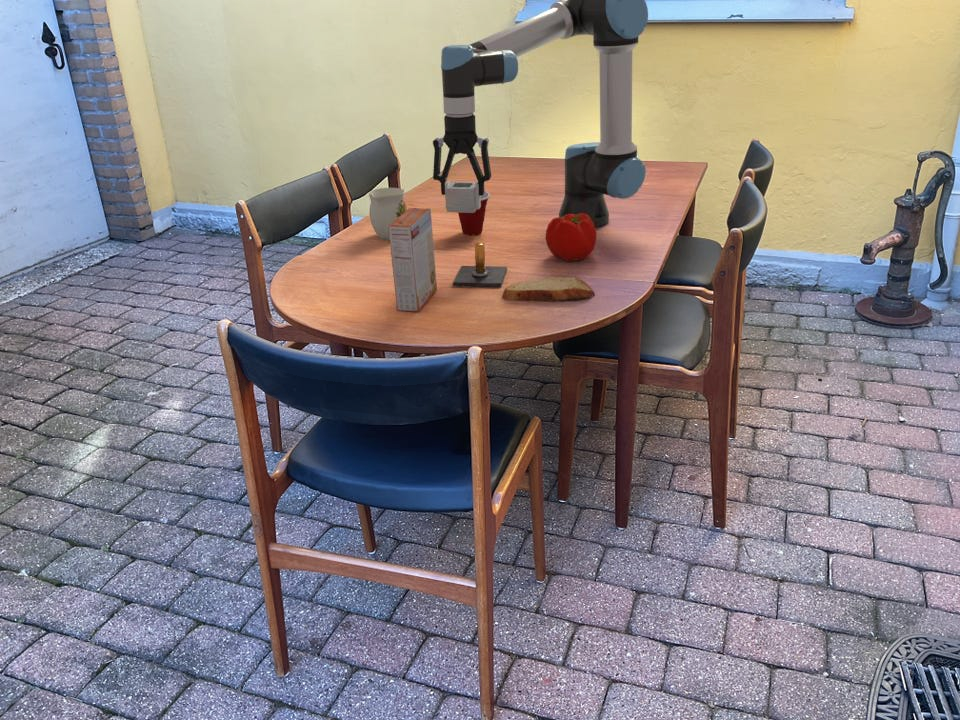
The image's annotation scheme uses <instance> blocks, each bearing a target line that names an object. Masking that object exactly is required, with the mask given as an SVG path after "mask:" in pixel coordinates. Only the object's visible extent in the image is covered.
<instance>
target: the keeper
mask: <svg viewBox="0 0 960 720" xmlns="http://www.w3.org/2000/svg"><path fill="white" fill-rule="evenodd" d="M485 250H486V249H485V243H484V242H475V243H474V258H475V260H474V261H475V263H474V264H475V265H461V266H460V268H459V270H458V272H457V274H456V275H455V278H454V280H453V282H452V286H453V287H471V288H472V287H473V288H475V287H478V288H479V287H481V288H484V287H485V288H502V286H503V283H504V281H505V278H506V274H507V272H508V266H495V265H493V266H492V265H486V258H485V257H486V254H485Z"/></svg>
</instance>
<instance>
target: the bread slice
mask: <svg viewBox="0 0 960 720" xmlns="http://www.w3.org/2000/svg"><path fill="white" fill-rule="evenodd" d="M594 296H596V295H595V291H594V290H593V289H592V287H591V286H590V285H589V284H588V283H586V282H585V281H583V279H580V278H578V277H575V276H572V277H571V276H552V277H541V278H536V279H531V280H524V281H520V282H517V283H514V284H513V283H512V284H510V285H507V287H505V288H504V290H503V293H502V295H501V298H502V299H504V300H505V301H506V300H507V301H519V302H564V301H574V300H577V301H578V300H584V299H585V300H586V299H589V298H592V297H594Z"/></svg>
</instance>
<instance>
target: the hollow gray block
mask: <svg viewBox="0 0 960 720" xmlns="http://www.w3.org/2000/svg"><path fill="white" fill-rule="evenodd" d="M476 182H477V181H453V180H452V181H450V184H449V185H448V186H447V188H446V199H445V205H446V204H447V209H446V213H458V212H462V213H475V211H476V210H477V209H476V197H475V183H476Z"/></svg>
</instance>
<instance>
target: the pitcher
mask: <svg viewBox="0 0 960 720" xmlns="http://www.w3.org/2000/svg"><path fill="white" fill-rule="evenodd" d="M368 196H369V198H370V199H369V200H370V203H369V219H370V223H371V227H372V228H373V230H374V232H375V234H376V235H377V236H378V238H380V239H382V240H390V239H389V230H388V226H389V225H390V224H391V223H392V222H394V221H395V220H396V219H397V218H398V217H399V216H401V215H402V214H403V213H404V212H405V211H406V210H408V208H407V204H406V202H405V190H404V189H402V188H398V187H381V188H376V189H373V190H372V189H371V191H369V192H368Z"/></svg>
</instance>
